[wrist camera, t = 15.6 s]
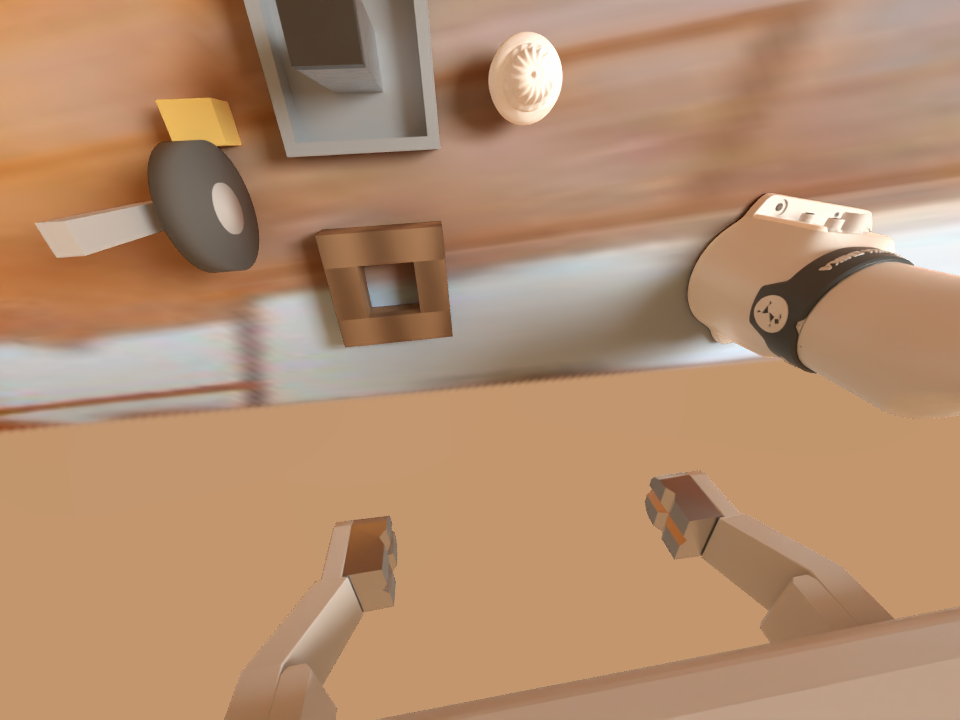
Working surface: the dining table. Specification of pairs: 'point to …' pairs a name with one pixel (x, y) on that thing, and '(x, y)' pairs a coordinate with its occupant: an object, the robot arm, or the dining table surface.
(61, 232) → the grey disc with lever
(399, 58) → the tray
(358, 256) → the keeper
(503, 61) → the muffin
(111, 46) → the dining table surface
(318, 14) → the pin
